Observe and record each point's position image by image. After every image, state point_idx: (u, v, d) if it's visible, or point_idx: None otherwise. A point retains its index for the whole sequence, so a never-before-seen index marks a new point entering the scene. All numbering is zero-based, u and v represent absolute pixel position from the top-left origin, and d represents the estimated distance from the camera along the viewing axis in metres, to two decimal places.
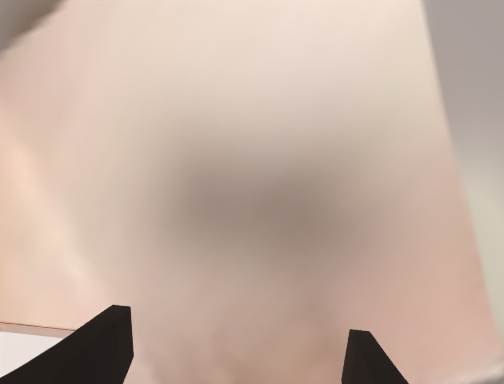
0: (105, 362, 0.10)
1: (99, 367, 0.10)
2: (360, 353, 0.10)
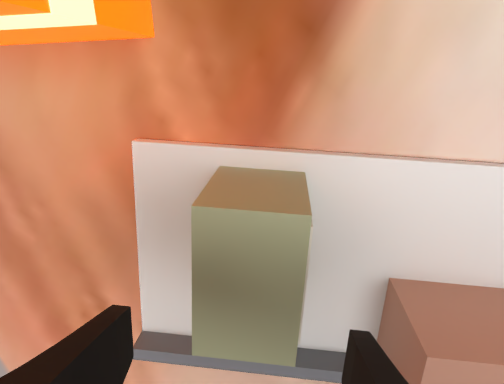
0: (105, 362, 0.10)
1: (99, 367, 0.10)
2: (360, 353, 0.10)
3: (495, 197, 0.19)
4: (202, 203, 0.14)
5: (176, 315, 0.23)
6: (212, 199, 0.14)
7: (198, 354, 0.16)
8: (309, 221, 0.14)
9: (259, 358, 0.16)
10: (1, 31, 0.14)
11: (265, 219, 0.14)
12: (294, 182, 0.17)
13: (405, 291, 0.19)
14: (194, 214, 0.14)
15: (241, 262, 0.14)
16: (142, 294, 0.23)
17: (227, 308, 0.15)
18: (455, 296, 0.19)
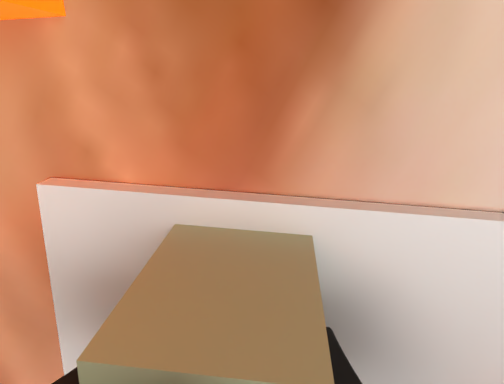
0: None
1: None
2: None
3: None
4: (104, 348, 0.07)
5: None
6: (129, 332, 0.07)
7: None
8: None
9: None
10: None
11: None
12: (295, 265, 0.10)
13: None
14: (84, 376, 0.07)
15: None
16: None
17: None
18: None
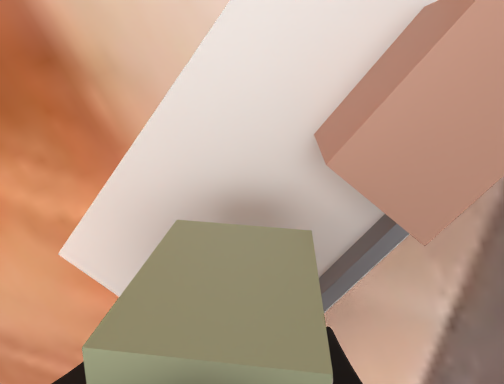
0: None
1: None
2: None
3: None
4: (109, 336, 0.07)
5: None
6: (133, 322, 0.07)
7: None
8: None
9: None
10: None
11: (234, 376, 0.07)
12: (294, 259, 0.10)
13: (323, 129, 0.16)
14: (90, 362, 0.07)
15: None
16: None
17: None
18: (364, 83, 0.16)
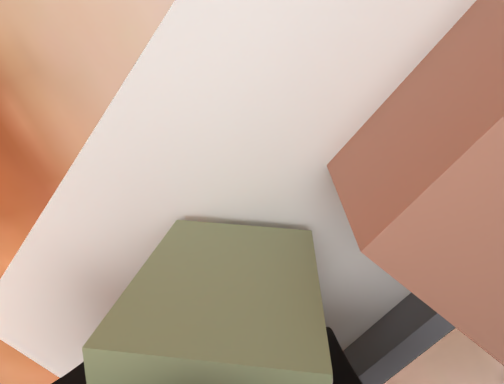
0: None
1: None
2: None
3: None
4: (109, 336, 0.07)
5: None
6: (133, 322, 0.07)
7: None
8: None
9: None
10: None
11: (234, 377, 0.07)
12: (294, 259, 0.10)
13: (342, 162, 0.11)
14: (90, 363, 0.07)
15: None
16: None
17: None
18: (409, 92, 0.10)
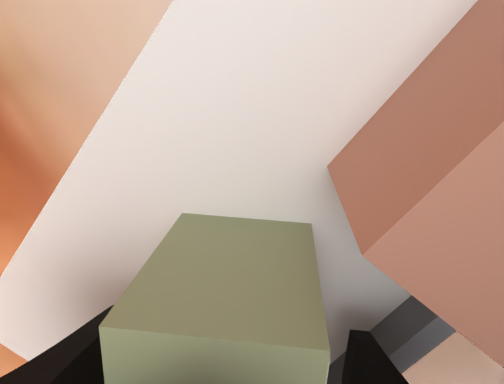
0: None
1: (99, 367, 0.10)
2: (360, 353, 0.10)
3: None
4: (123, 317, 0.08)
5: None
6: (145, 304, 0.08)
7: None
8: (324, 360, 0.07)
9: None
10: None
11: (239, 353, 0.07)
12: (295, 249, 0.11)
13: (343, 163, 0.10)
14: (105, 341, 0.07)
15: None
16: None
17: None
18: (410, 92, 0.10)
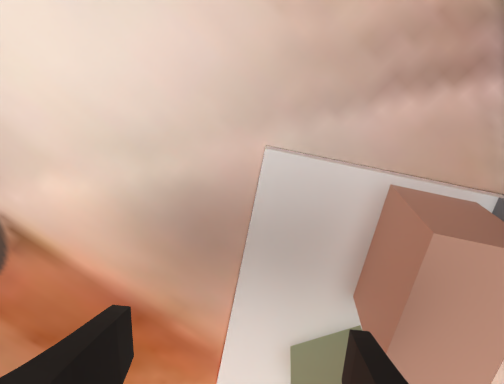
0: (105, 362, 0.10)
1: (99, 367, 0.10)
2: (360, 353, 0.10)
3: (282, 209, 0.20)
4: None
5: None
6: None
7: None
8: None
9: None
10: None
11: None
12: None
13: (359, 301, 0.20)
14: None
15: None
16: None
17: None
18: (373, 262, 0.19)
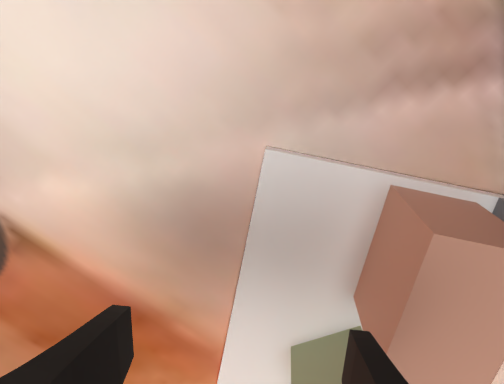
0: (105, 362, 0.10)
1: (99, 367, 0.10)
2: (360, 353, 0.10)
3: (282, 209, 0.20)
4: None
5: None
6: None
7: None
8: None
9: None
10: None
11: None
12: None
13: (359, 302, 0.20)
14: None
15: None
16: None
17: None
18: (373, 262, 0.19)
